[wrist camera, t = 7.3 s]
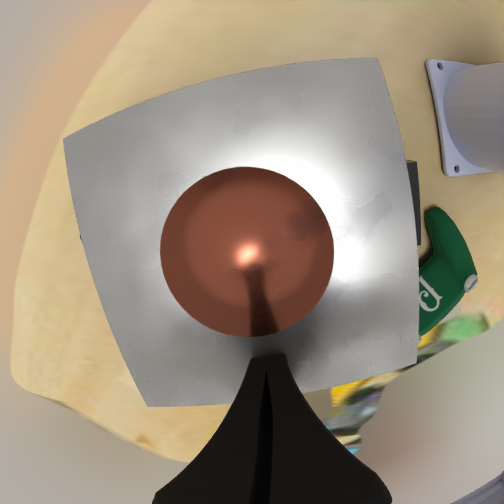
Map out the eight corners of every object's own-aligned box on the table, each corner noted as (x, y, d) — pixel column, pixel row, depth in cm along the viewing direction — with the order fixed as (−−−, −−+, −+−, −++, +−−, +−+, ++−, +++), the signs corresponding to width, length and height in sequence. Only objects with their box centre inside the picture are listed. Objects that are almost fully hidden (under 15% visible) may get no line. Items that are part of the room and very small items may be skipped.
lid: (370, 65, 9) (379, 55, 8) (409, 354, 11) (418, 365, 10) (73, 140, 10) (60, 138, 9) (152, 396, 13) (146, 409, 12)
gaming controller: (352, 299, 21) (398, 357, 19) (339, 298, 18) (394, 368, 15) (433, 215, 19) (484, 271, 16) (436, 199, 16) (497, 265, 13)
